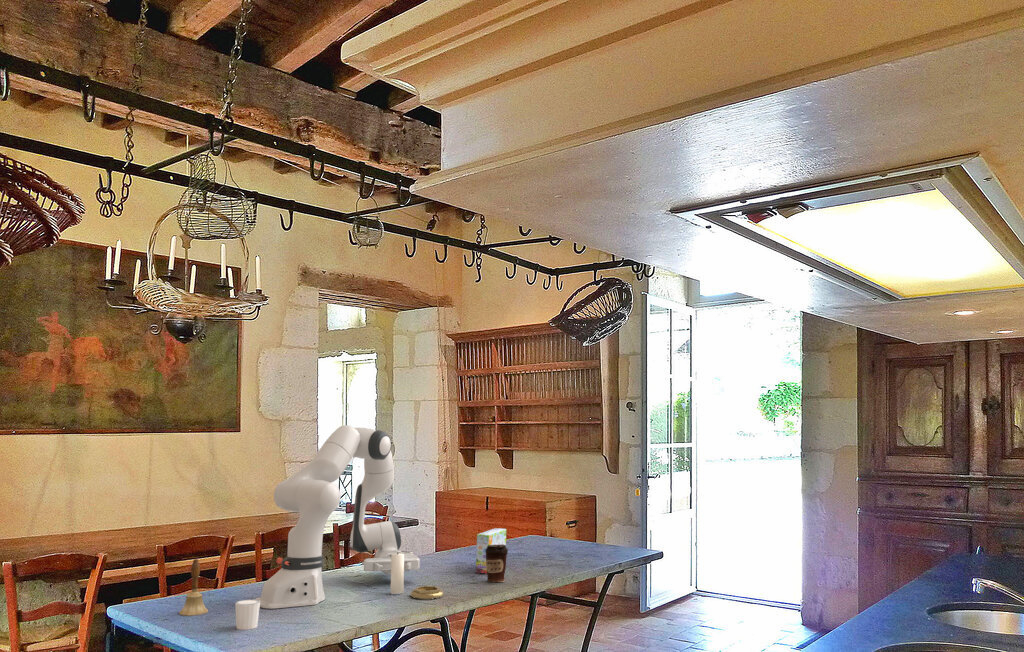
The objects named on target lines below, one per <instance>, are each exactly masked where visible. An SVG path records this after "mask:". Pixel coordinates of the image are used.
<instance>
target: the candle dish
mask: <svg viewBox="0 0 1024 652" xmlns="http://www.w3.org/2000/svg"><path fill="white" fill-rule="evenodd" d="M441 588H442V587H439V586H435V585H434V586H433V585H422V586H416V587H415V588H414V589H413V590H411V591H410V597H411V596H412V597H415V598H419V599H418V600H420V599H432V598H438V597H442V596H443V595H445V593H444V592H445V591H444V590H443V589H441ZM412 597H411V598H412ZM443 597H444V596H443ZM443 597H442V598H443ZM432 600H433V599H432Z"/></svg>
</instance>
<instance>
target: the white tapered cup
mask: <svg viewBox="0 0 1024 652" xmlns="http://www.w3.org/2000/svg"><path fill="white" fill-rule="evenodd" d="M234 605H235V606H234V608H235V625H236V627H235V628H236V630H241V631H244V630H245V631H246V630H253V629H256V628H257V627H258V623H259V616H260V615H259V613H260V608H261V607H260V601H259V600H255V599H243V600H242V599H241V600H237V601H236V602H235V604H234Z"/></svg>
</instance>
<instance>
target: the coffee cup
mask: <svg viewBox="0 0 1024 652" xmlns="http://www.w3.org/2000/svg"><path fill="white" fill-rule="evenodd" d="M485 552H486V567H487V574H486V575H487V578H486V579H487V582H491V583H503V582H504V583H505V582H506V579H505V573H506V569H507V556H508V552H509V549H508V548H507V544H506V545H487V548H486V550H485Z"/></svg>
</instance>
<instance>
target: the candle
mask: <svg viewBox="0 0 1024 652" xmlns="http://www.w3.org/2000/svg"><path fill="white" fill-rule="evenodd" d="M404 577H405V571H404V554H401V553H398V552H397V553H396V554H391V574H390V594H391V593H394V594H396V593H403V594H404V587H405V586H404V584H405V583H404V581H405V579H404Z"/></svg>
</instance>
